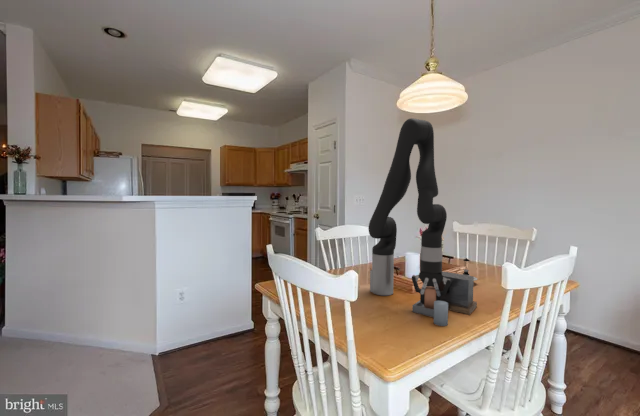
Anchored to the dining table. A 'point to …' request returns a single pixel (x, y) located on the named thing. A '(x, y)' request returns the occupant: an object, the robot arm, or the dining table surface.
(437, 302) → the slate part
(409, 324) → the dining table surface
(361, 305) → the dining table surface
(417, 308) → the tray
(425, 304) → the terracotta part
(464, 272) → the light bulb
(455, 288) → the unit
